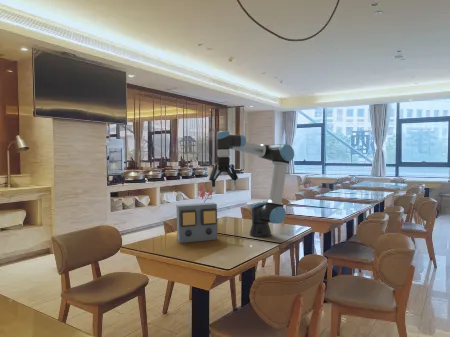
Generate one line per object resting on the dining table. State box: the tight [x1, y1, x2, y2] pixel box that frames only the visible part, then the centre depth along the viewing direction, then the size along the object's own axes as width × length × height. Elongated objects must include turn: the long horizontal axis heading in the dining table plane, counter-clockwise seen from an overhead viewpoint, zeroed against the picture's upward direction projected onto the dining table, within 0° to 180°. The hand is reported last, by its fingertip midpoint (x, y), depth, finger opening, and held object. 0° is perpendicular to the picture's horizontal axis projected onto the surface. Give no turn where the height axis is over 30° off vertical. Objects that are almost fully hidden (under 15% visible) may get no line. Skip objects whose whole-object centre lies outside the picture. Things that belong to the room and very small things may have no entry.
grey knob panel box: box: [175, 202, 218, 244], centre depth 235 cm, size 10×26×24 cm, turn 108°
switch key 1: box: [182, 212, 195, 225], centre depth 228 cm, size 3×8×8 cm, turn 108°
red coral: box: [196, 183, 214, 203], centre depth 276 cm, size 15×26×35 cm, turn 166°
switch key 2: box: [203, 210, 216, 224], centre depth 232 cm, size 3×8×8 cm, turn 108°
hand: (224, 191), depth 213 cm, fingers open, 13 cm apart
